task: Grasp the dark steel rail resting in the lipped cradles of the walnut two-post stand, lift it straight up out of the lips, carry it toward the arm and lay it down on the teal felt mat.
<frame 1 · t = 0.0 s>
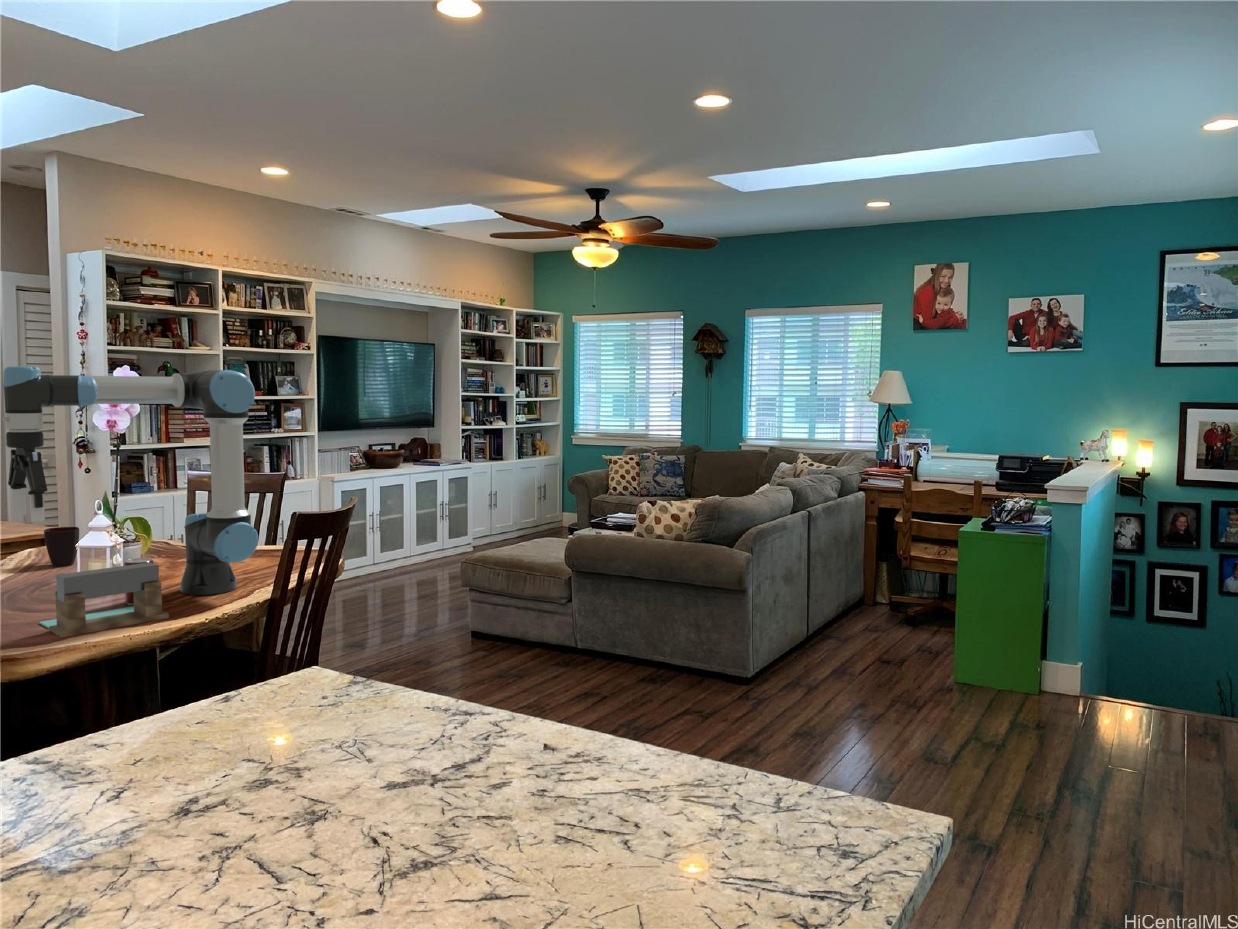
hand: (28, 518, 218), 28 cm above the table, fingers open, 13 cm apart
cup: (63, 564, 301), on the table
stand: (111, 624, 228), on the table
rail: (109, 593, 227), point 8 cm above the table, touching stand
soda can: (140, 603, 250), on the table
mat: (96, 617, 234), on the table
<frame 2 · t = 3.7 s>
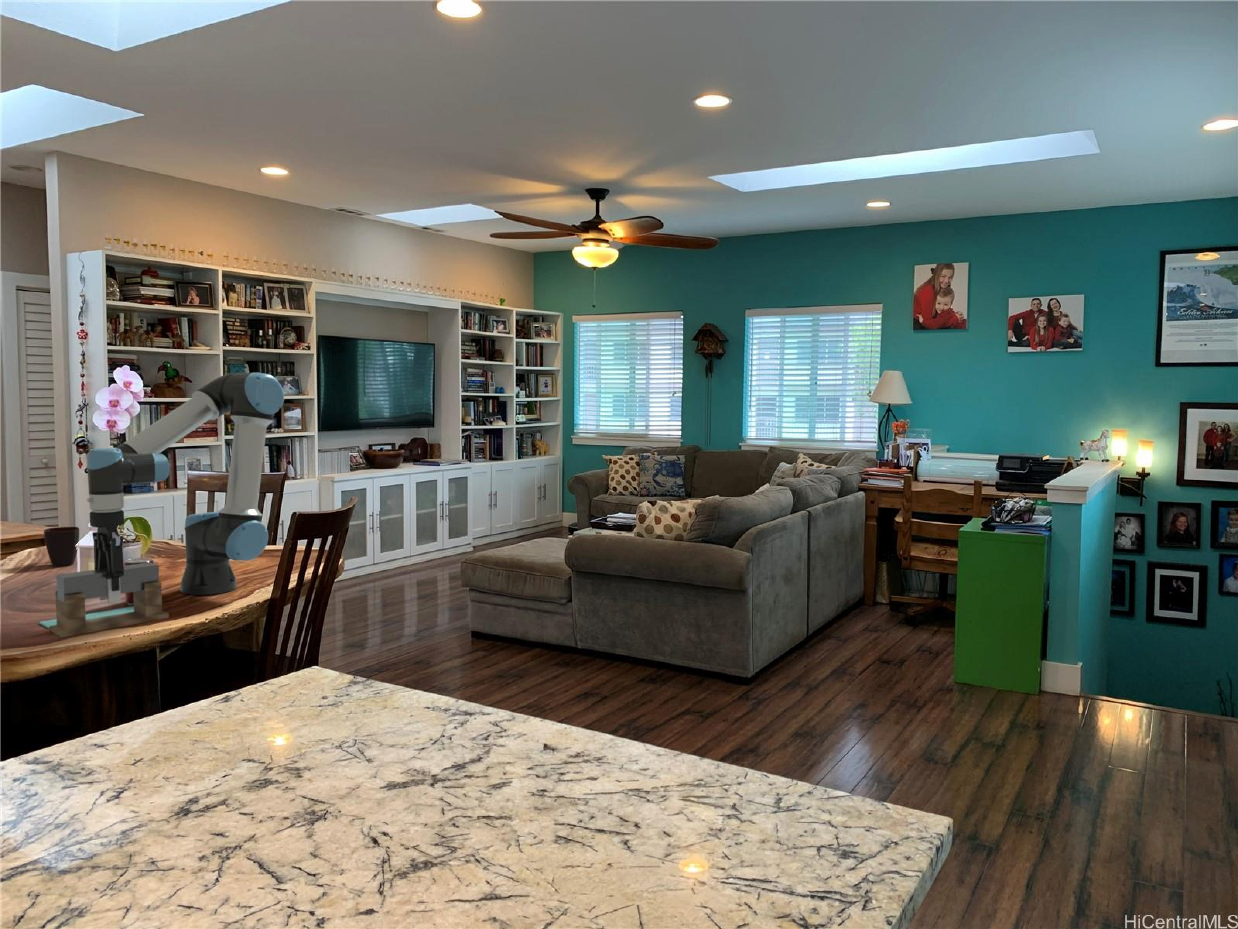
hand: (110, 601, 227), 6 cm above the table, fingers closed on rail, 5 cm apart
rail: (109, 593, 227), point 8 cm above the table, touching gripper, stand
everything else where it was.
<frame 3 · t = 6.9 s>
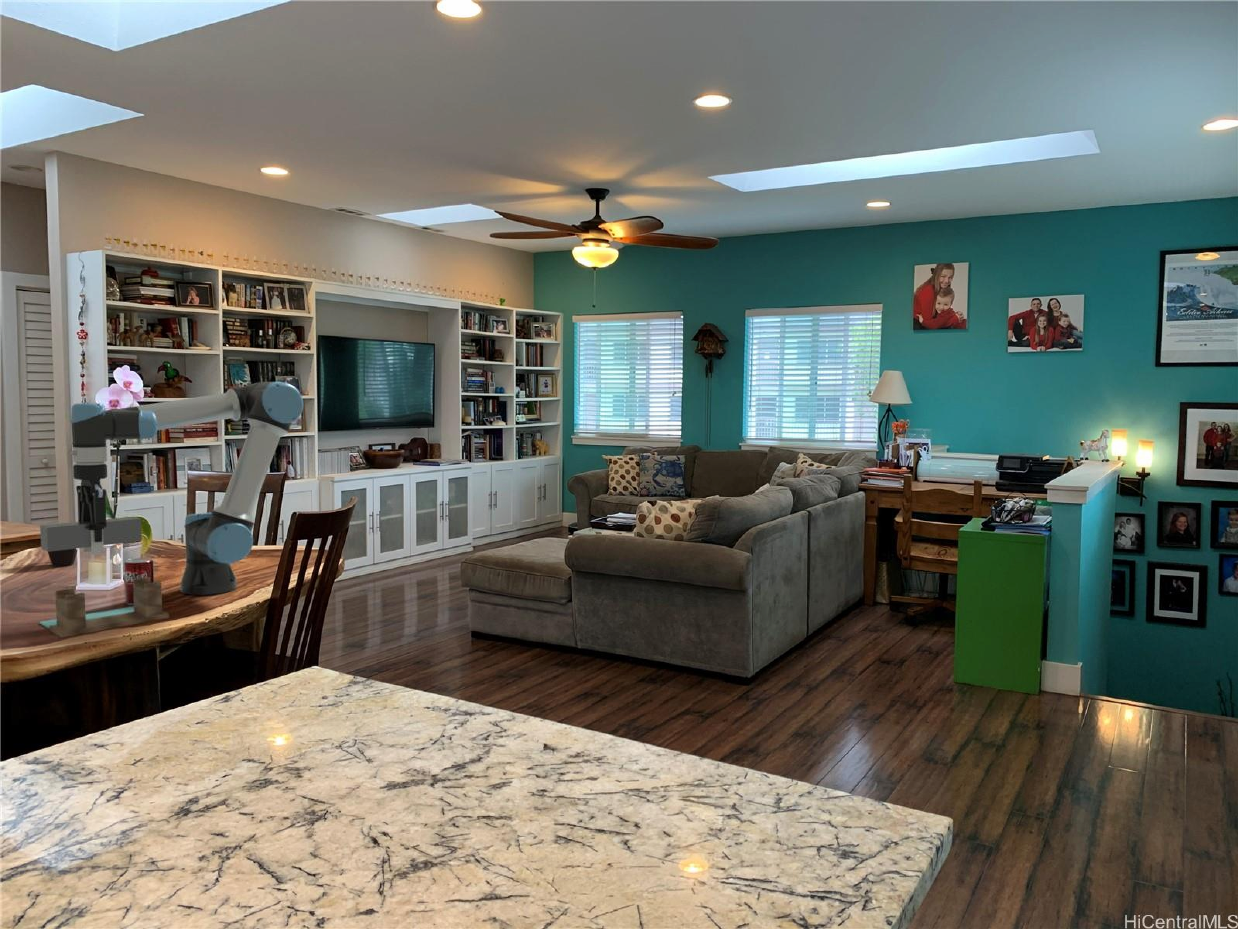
hand: (93, 552, 233), 17 cm above the table, fingers closed on rail, 5 cm apart
rail: (92, 544, 233), point 19 cm above the table, touching gripper
everything else where it was.
when the fingers open (1 cm above the table, at t = 10.3 s): rail drops 3 cm, resting on mat.
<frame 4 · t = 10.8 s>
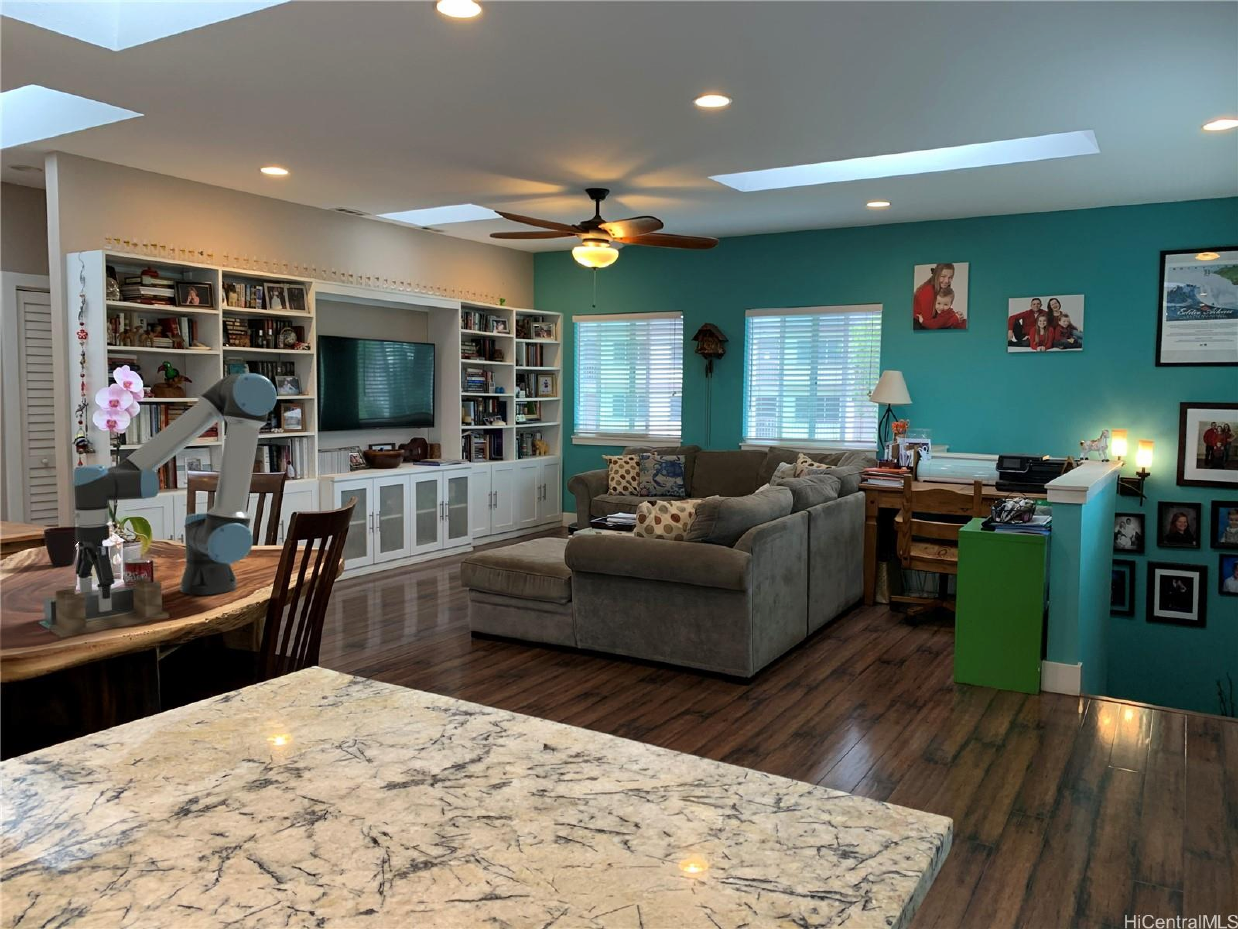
hand: (95, 606, 234), 3 cm above the table, fingers open, 12 cm apart
rail: (96, 615, 234), resting on mat
everything else where it was.
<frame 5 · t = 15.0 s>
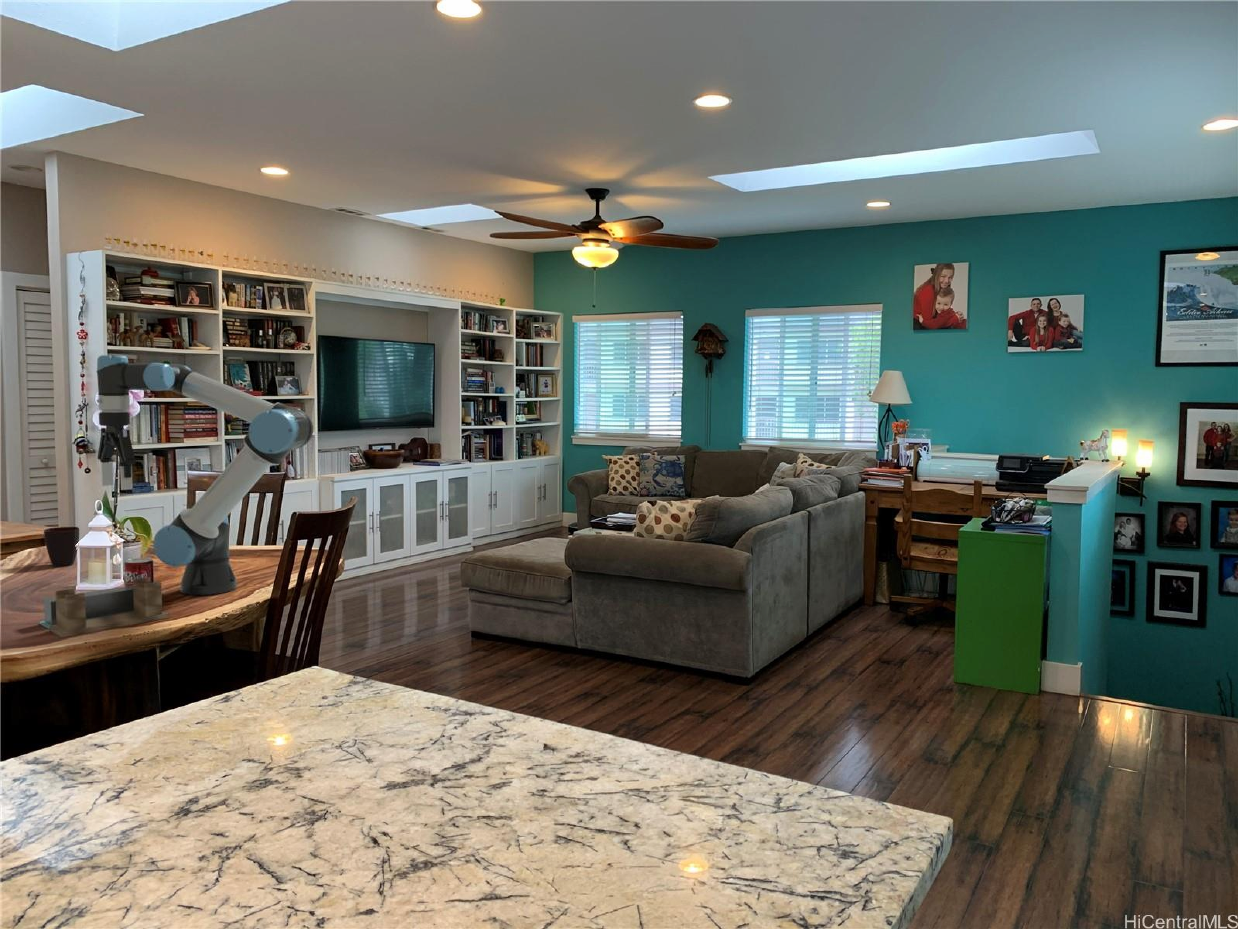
hand: (117, 487, 251), 32 cm above the table, fingers open, 13 cm apart
nothing on the table moved.
at the end: rail inside the target area on the mat (0.0 cm from its centre), point 0.4 cm above the mat's base; rail touching mat; the gripper is holding nothing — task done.
